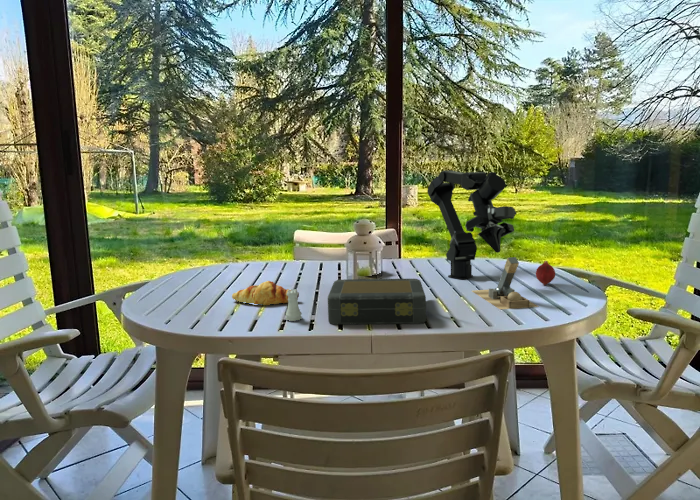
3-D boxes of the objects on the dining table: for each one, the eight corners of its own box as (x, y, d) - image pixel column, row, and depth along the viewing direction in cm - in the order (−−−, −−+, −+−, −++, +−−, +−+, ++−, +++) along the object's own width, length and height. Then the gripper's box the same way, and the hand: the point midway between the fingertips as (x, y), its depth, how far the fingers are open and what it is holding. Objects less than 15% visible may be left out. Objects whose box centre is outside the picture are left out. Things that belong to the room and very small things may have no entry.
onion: (556, 287, 153) (557, 262, 152) (537, 286, 154) (538, 262, 153) (552, 282, 159) (553, 259, 157) (534, 282, 160) (534, 259, 158)
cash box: (420, 302, 141) (420, 277, 140) (426, 325, 121) (426, 295, 120) (335, 303, 143) (334, 278, 142) (327, 326, 123) (326, 296, 122)
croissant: (230, 315, 146) (222, 296, 141) (239, 292, 154) (232, 273, 149) (298, 314, 143) (293, 295, 138) (303, 291, 151) (299, 272, 146)
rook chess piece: (285, 317, 131) (284, 288, 129) (302, 316, 131) (301, 287, 130) (285, 322, 126) (283, 292, 125) (302, 321, 126) (300, 291, 125)
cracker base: (471, 295, 146) (471, 283, 146) (505, 293, 148) (505, 281, 147) (499, 314, 127) (500, 300, 126) (539, 311, 128) (539, 298, 128)
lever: (493, 292, 139) (506, 257, 130) (504, 291, 140) (517, 256, 131) (500, 306, 135) (513, 271, 126) (511, 305, 136) (525, 270, 127)
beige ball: (504, 304, 130) (505, 292, 130) (511, 302, 133) (511, 289, 132) (517, 307, 128) (517, 294, 127) (523, 304, 130) (524, 291, 130)
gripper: (488, 189, 142) (504, 237, 136) (520, 200, 154) (536, 245, 148) (458, 206, 149) (472, 252, 143) (491, 216, 161) (505, 259, 155)
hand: (498, 252), depth 147 cm, fingers closed
